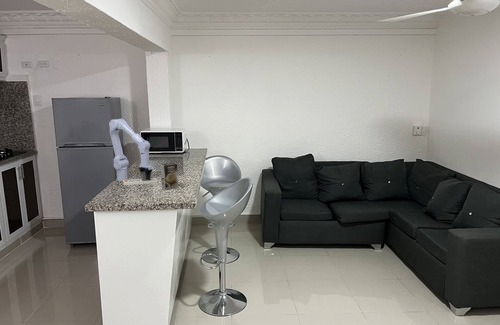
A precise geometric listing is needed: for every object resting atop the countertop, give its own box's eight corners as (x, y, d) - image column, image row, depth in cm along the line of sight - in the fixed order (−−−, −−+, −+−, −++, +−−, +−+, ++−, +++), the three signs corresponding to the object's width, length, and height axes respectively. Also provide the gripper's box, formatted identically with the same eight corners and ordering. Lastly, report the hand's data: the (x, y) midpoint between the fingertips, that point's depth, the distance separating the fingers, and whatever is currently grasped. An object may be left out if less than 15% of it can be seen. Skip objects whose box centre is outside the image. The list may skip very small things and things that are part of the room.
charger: (142, 181, 263) (141, 171, 261) (149, 180, 265) (148, 170, 263) (142, 182, 258) (142, 172, 257) (150, 182, 260) (149, 172, 259)
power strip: (123, 183, 260) (122, 179, 260) (155, 181, 268) (155, 176, 268) (124, 186, 252) (123, 182, 251) (157, 183, 260) (157, 179, 259)
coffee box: (165, 190, 244) (164, 165, 241) (161, 188, 249) (160, 164, 246) (178, 187, 249) (177, 163, 246) (174, 186, 254) (173, 162, 251)
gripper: (134, 158, 261) (136, 177, 264) (144, 161, 250) (145, 181, 253) (144, 157, 266) (145, 175, 268) (153, 159, 255) (155, 179, 258)
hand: (146, 178), depth 261 cm, fingers closed on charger, 6 cm apart
